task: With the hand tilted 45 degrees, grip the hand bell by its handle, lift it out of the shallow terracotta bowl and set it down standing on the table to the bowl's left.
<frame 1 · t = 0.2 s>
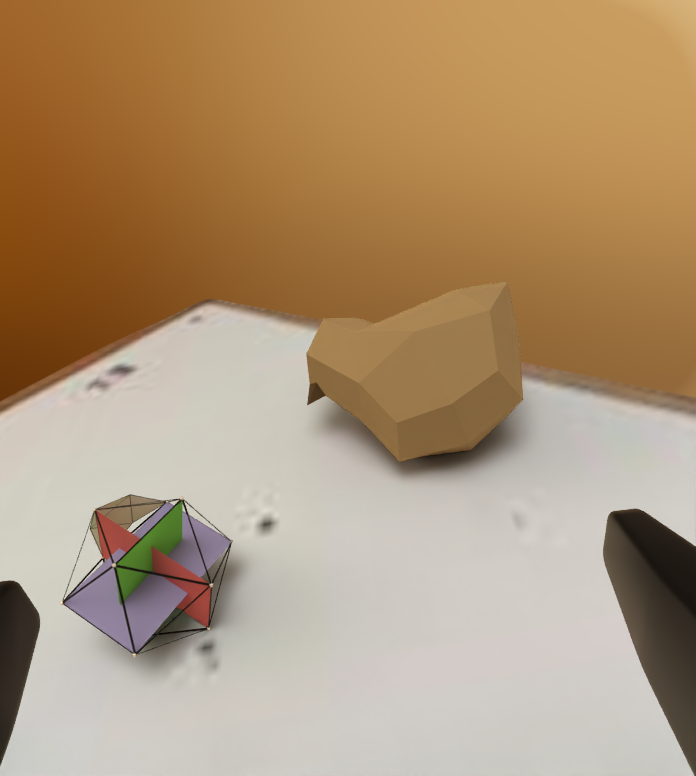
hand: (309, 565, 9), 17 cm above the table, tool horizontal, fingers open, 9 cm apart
geometric puzzle: (174, 615, 29), on the table
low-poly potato: (416, 432, 39), on the table
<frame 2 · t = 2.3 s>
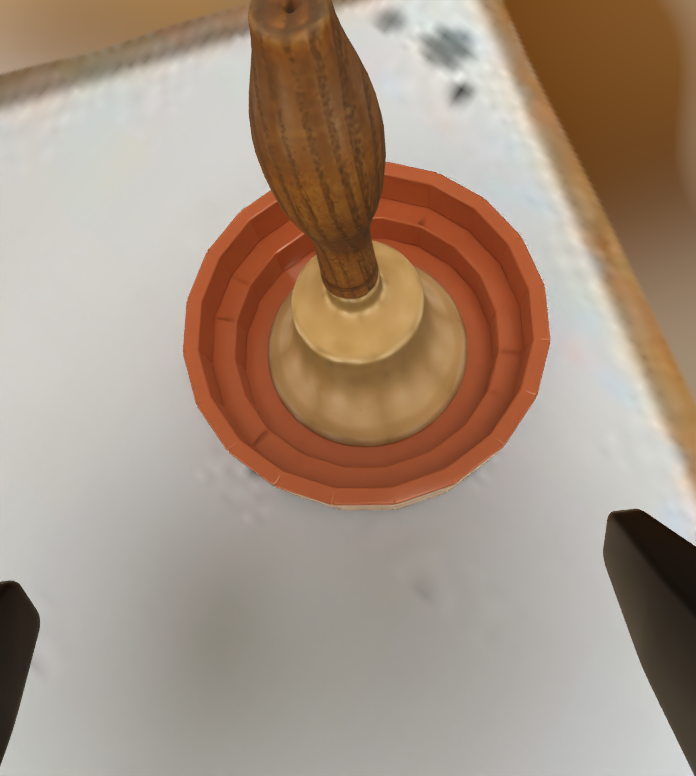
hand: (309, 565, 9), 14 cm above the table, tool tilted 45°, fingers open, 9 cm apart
hand bell: (366, 350, 24), resting on bowl
bowl: (366, 351, 24), on the table
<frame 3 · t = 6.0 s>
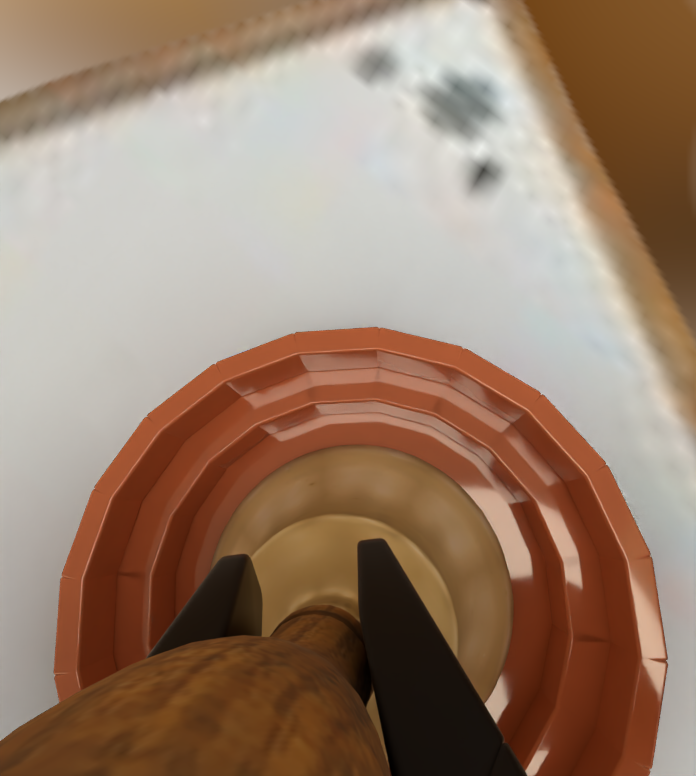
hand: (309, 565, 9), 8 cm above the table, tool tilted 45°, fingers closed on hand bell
hand bell: (357, 596, 16), resting on bowl, touching gripper
bowl: (357, 595, 16), on the table
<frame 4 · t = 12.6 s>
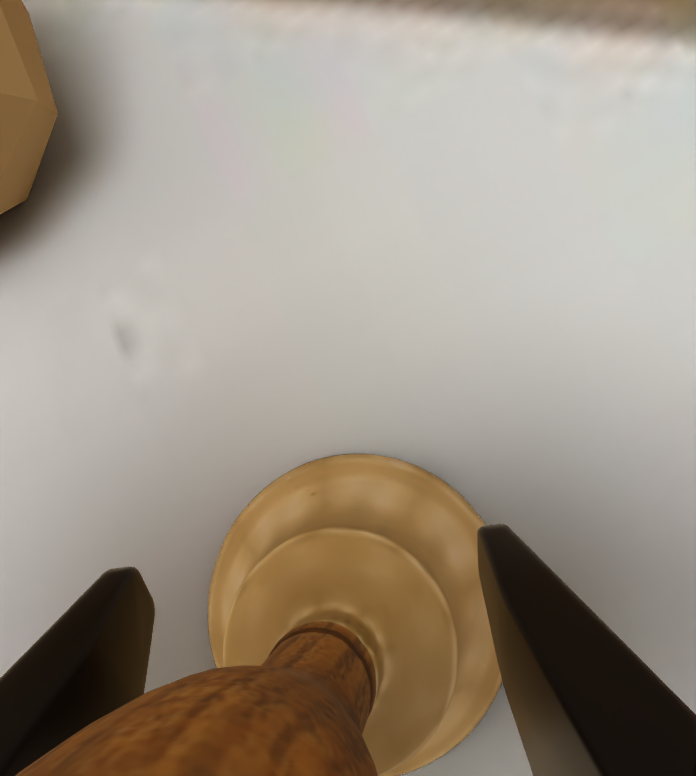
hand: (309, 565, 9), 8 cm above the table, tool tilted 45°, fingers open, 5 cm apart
hand bell: (358, 605, 16), on the table
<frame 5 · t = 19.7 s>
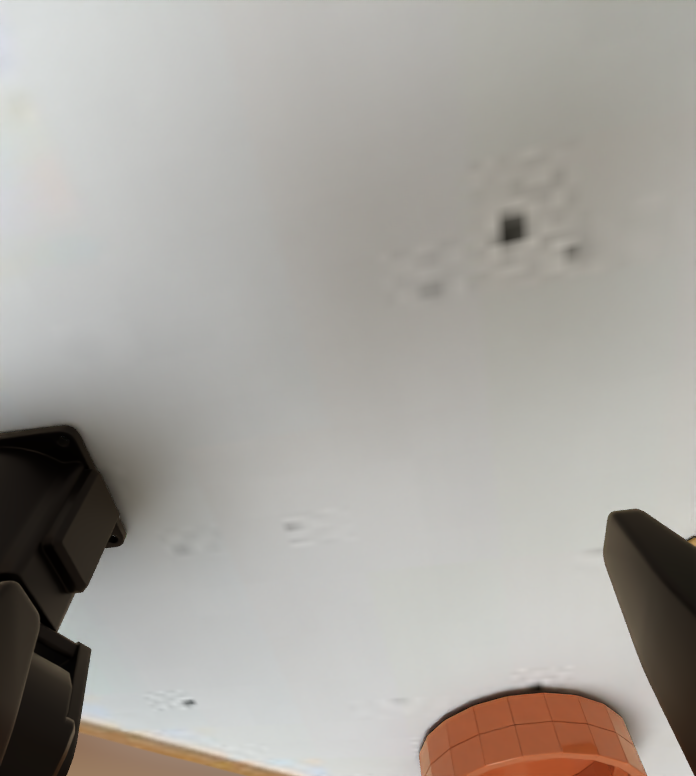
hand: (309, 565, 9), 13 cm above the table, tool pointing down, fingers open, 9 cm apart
bowl: (521, 746, 37), on the table
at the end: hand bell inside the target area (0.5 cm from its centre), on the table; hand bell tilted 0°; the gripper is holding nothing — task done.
